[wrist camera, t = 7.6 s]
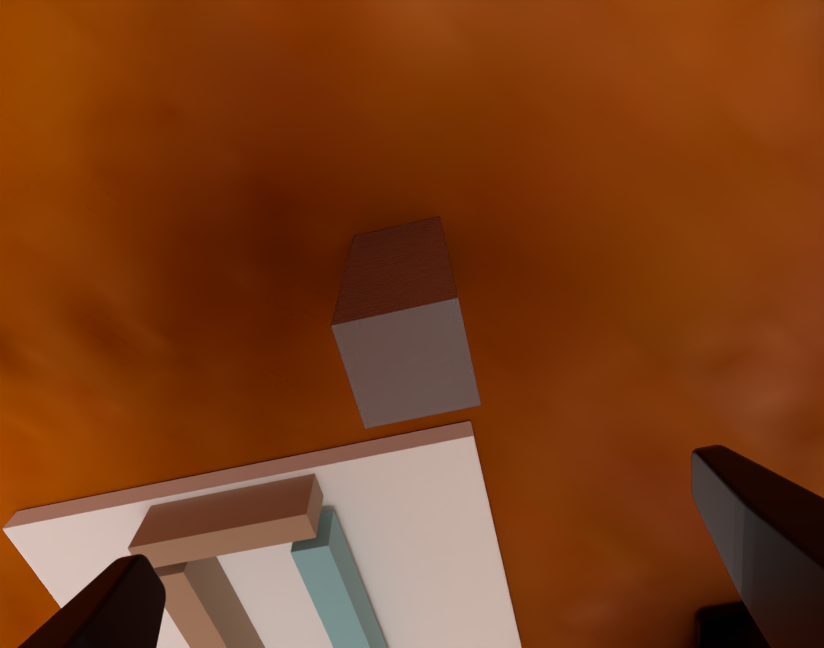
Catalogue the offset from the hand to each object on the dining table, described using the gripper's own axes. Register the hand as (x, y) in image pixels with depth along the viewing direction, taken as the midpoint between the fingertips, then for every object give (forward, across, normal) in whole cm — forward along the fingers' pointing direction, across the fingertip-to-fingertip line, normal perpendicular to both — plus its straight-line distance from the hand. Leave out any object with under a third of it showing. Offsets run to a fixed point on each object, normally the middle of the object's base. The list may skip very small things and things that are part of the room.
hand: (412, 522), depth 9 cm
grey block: (+12, 0, 0) cm, 12 cm away
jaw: (+10, +6, +14) cm, 18 cm away
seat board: (+12, +9, +14) cm, 20 cm away
